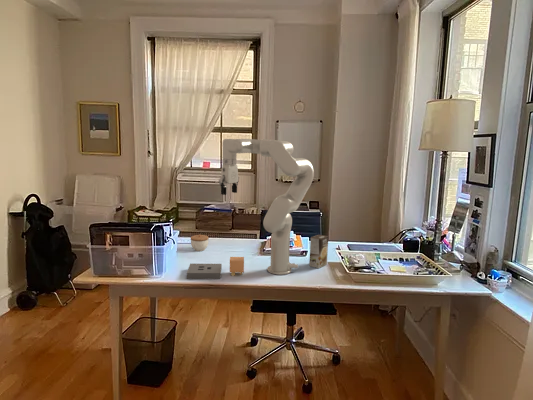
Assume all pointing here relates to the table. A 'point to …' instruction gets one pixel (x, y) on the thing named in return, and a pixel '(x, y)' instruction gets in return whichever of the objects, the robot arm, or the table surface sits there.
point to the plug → (236, 265)
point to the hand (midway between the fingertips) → (229, 193)
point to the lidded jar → (199, 242)
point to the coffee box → (318, 251)
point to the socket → (204, 271)
